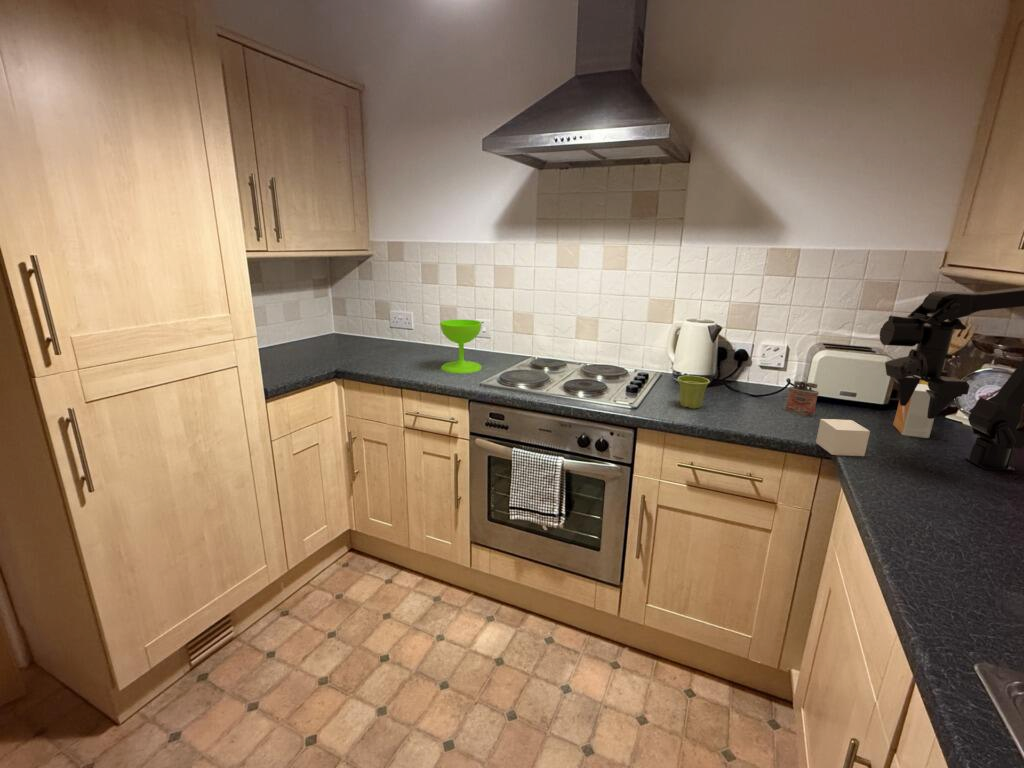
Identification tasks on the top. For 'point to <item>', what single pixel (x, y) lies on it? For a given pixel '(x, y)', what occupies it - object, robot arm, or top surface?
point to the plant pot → (692, 390)
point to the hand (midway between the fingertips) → (916, 411)
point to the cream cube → (842, 437)
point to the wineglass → (461, 343)
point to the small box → (915, 414)
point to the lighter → (802, 398)
